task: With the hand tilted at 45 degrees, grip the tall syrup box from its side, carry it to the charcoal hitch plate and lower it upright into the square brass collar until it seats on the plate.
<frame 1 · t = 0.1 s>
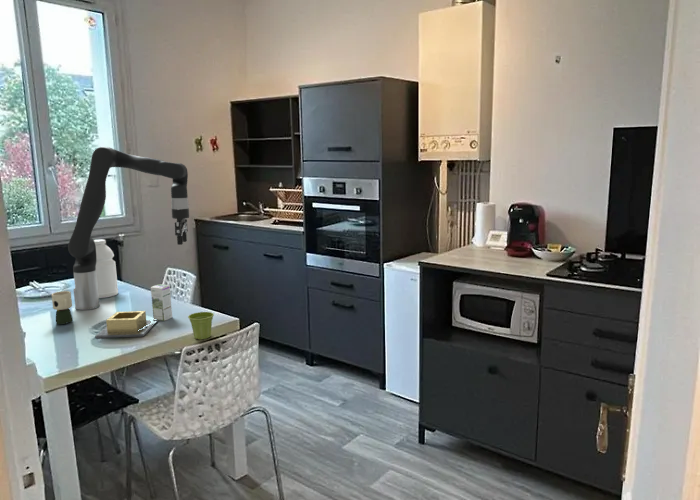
hand: (182, 243, 245), 29 cm above the table, tool pointing down, fingers open, 8 cm apart
character mug: (64, 323, 224), on the table
plant pot: (202, 337, 204), on the table
syrup box: (163, 319, 228), on the table
hitch plate: (127, 329, 214), on the table
bottle: (103, 295, 270), on the table
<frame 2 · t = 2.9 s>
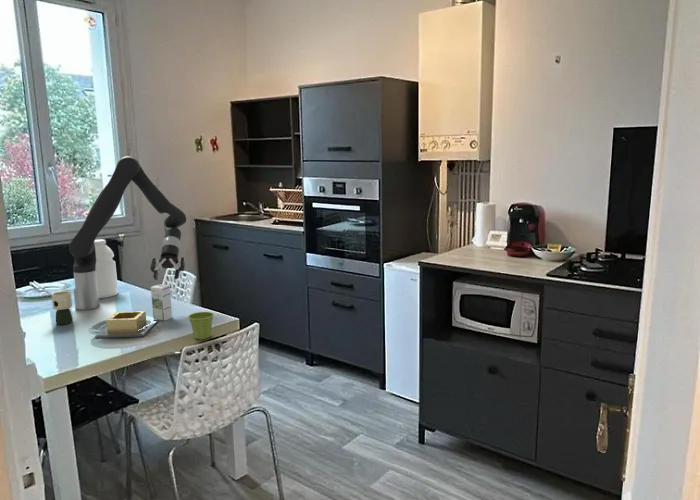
hand: (165, 278, 234), 16 cm above the table, tool tilted 45°, fingers open, 8 cm apart
nothing on the table moved.
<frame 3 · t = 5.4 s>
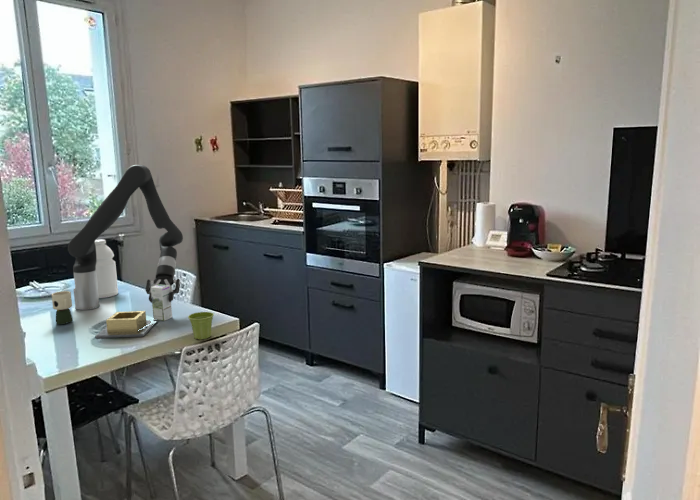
hand: (160, 301, 225), 8 cm above the table, tool tilted 45°, fingers closed on syrup box, 7 cm apart
syrup box: (163, 319, 228), on the table, touching gripper
everything else where it was.
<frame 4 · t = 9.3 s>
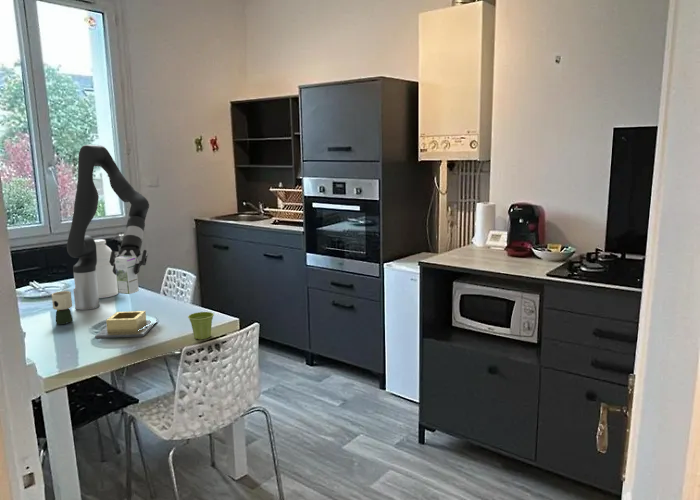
hand: (125, 273, 210), 23 cm above the table, tool tilted 45°, fingers closed on syrup box, 7 cm apart
syrup box: (128, 292, 213), point 15 cm above the table, touching gripper
everything else where it was.
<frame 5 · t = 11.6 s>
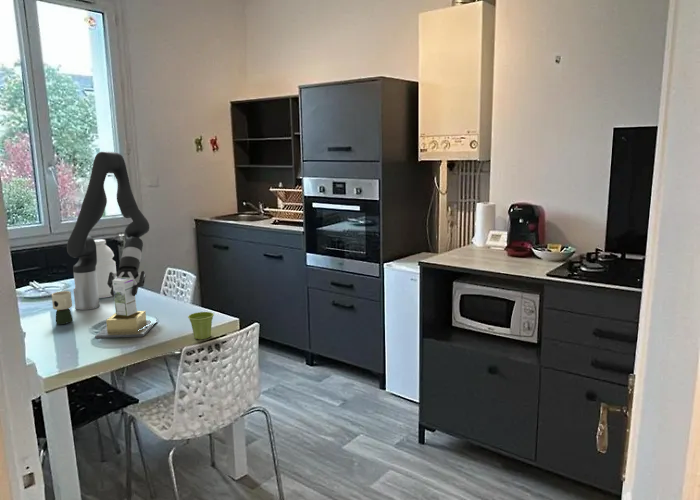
hand: (123, 295, 210), 15 cm above the table, tool tilted 45°, fingers closed on syrup box, 7 cm apart
syrup box: (126, 314, 213), point 6 cm above the table, touching gripper
everything else where it was.
when the fingers open (10 cm above the table, at t = 13.4 s): syrup box stays where it is, resting on hitch plate.
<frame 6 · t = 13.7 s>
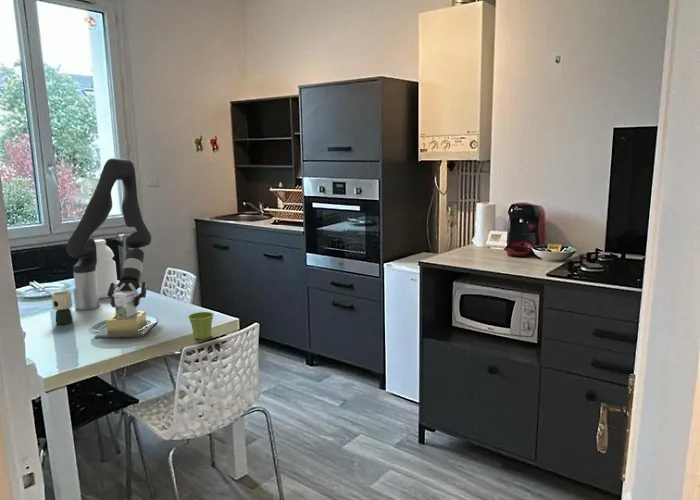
hand: (124, 306, 211), 10 cm above the table, tool tilted 45°, fingers open, 8 cm apart
syrup box: (127, 327, 214), point 1 cm above the table, touching hitch plate
everything else where it was.
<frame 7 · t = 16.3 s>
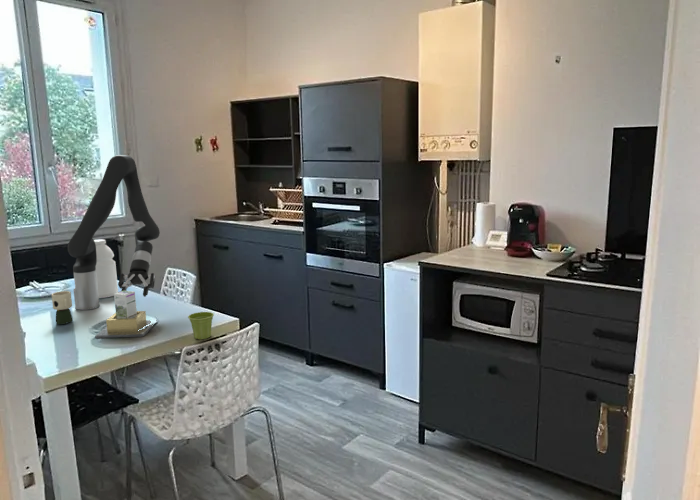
hand: (133, 295, 222), 11 cm above the table, tool tilted 45°, fingers open, 8 cm apart
nothing on the table moved.
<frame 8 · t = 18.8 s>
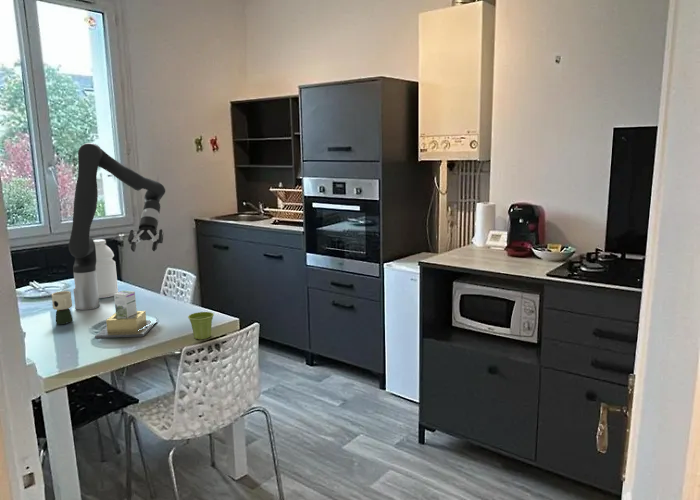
hand: (143, 250, 229), 29 cm above the table, tool tilted 45°, fingers open, 8 cm apart
nothing on the table moved.
at the end: syrup box 0.2 cm off-centre on the hitch plate, point 0.8 cm above the hitch plate's base; syrup box tilted 0°; the gripper is holding nothing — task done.
